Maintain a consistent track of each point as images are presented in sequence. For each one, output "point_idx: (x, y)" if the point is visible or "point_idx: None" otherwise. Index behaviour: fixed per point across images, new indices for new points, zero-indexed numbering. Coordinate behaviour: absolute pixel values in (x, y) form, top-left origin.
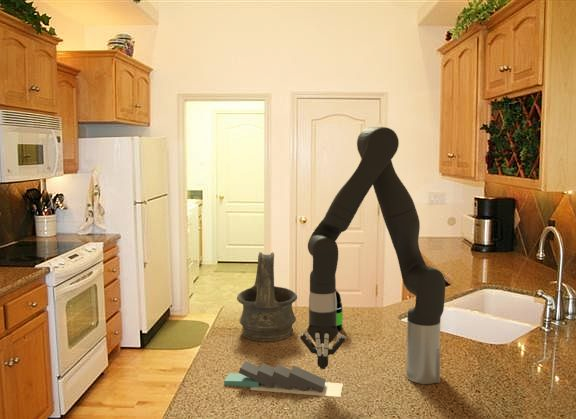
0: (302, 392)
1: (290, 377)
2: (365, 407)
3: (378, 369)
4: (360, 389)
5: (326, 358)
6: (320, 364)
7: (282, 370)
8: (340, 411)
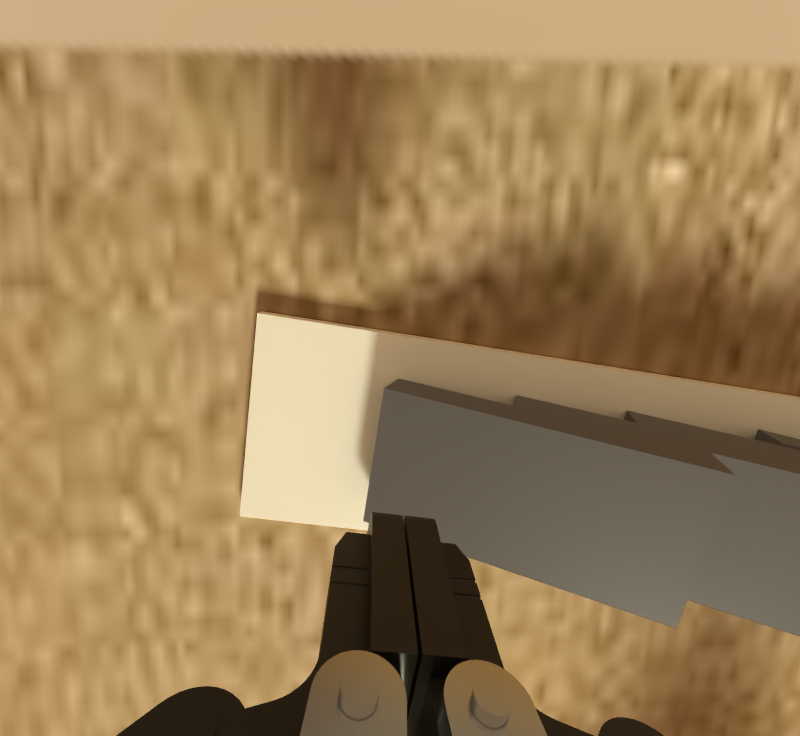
0: (540, 378)
1: (693, 451)
2: (58, 173)
3: (3, 726)
4: (114, 457)
5: (344, 631)
6: (434, 549)
7: (765, 549)
8: (262, 106)
